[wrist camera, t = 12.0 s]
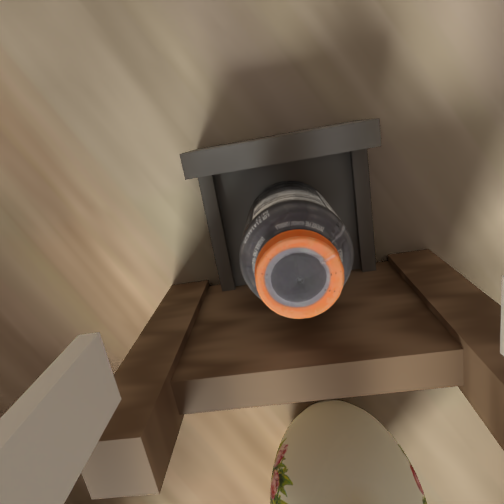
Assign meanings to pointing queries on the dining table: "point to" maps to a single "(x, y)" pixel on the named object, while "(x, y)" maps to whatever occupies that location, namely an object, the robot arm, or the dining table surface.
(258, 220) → the pill bottle
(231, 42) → the dining table surface
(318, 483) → the pitcher
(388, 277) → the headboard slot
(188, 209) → the dining table surface
